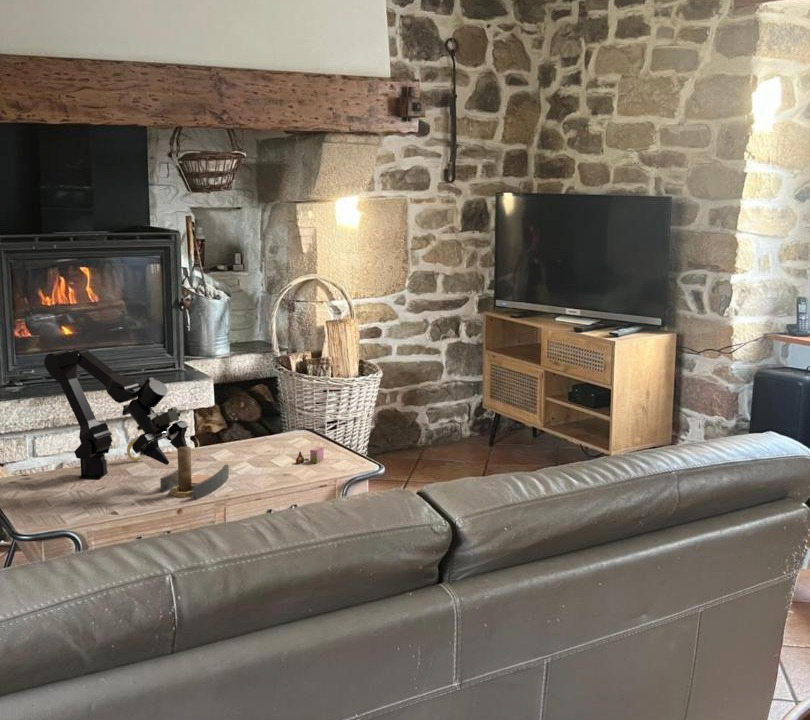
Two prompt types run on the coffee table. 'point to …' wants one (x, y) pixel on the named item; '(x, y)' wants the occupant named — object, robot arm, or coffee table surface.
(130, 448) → the ring
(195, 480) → the tile
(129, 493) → the coffee table surface
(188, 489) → the brown cylinder
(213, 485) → the gray curved bar
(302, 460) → the perfume bottle
